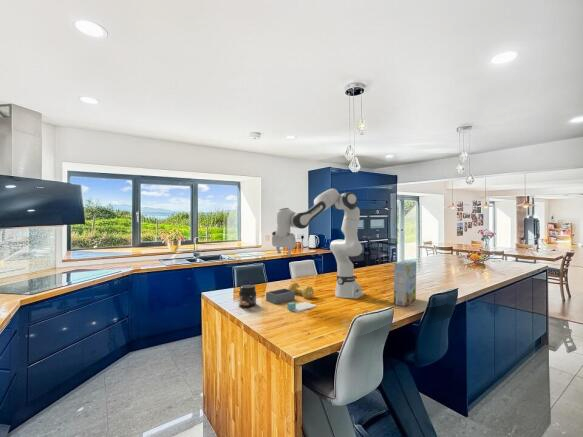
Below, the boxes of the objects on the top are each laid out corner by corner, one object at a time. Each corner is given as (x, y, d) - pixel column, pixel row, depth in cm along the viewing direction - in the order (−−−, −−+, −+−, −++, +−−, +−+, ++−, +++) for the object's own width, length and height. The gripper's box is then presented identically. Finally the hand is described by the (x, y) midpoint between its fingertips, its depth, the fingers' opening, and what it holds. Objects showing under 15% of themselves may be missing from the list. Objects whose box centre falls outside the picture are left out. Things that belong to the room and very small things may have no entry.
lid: (305, 303, 183) (305, 296, 183) (317, 306, 175) (317, 300, 176) (283, 308, 171) (283, 301, 171) (294, 312, 163) (294, 305, 163)
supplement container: (235, 306, 175) (235, 287, 175) (245, 302, 184) (245, 283, 184) (249, 309, 170) (249, 289, 170) (259, 304, 179) (259, 285, 179)
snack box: (407, 307, 174) (407, 264, 174) (393, 304, 179) (393, 263, 179) (417, 299, 191) (416, 260, 191) (403, 297, 197) (403, 259, 197)
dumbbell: (287, 294, 204) (287, 283, 204) (296, 292, 210) (296, 281, 210) (305, 300, 189) (305, 288, 189) (314, 298, 195) (315, 286, 195)
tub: (285, 297, 197) (285, 288, 197) (294, 300, 189) (294, 291, 189) (266, 301, 186) (266, 292, 186) (275, 305, 179) (275, 295, 179)
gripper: (298, 233, 182) (298, 255, 182) (277, 232, 197) (277, 252, 197) (290, 233, 177) (290, 256, 177) (270, 232, 192) (270, 253, 192)
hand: (283, 254), depth 187 cm, fingers open, 8 cm apart
